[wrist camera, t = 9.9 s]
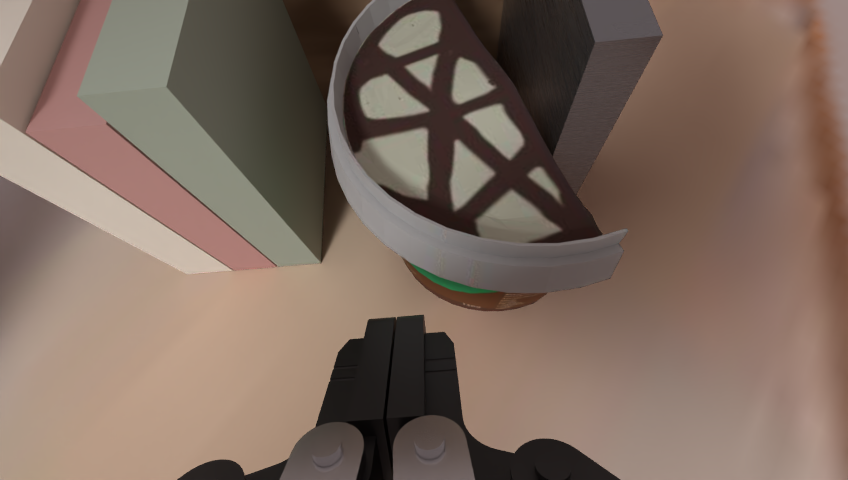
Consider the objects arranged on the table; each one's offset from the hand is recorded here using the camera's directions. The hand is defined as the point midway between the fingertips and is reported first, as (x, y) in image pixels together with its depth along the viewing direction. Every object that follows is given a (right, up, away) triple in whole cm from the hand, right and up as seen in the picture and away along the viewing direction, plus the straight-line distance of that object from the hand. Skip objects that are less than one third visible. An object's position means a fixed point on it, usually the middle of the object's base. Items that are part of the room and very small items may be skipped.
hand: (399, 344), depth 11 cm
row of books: (-8, +6, +12) cm, 15 cm away
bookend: (+6, +7, +11) cm, 14 cm away
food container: (+1, +3, +10) cm, 10 cm away
